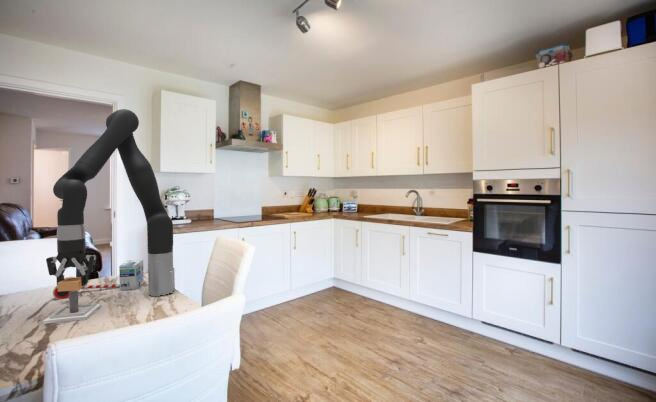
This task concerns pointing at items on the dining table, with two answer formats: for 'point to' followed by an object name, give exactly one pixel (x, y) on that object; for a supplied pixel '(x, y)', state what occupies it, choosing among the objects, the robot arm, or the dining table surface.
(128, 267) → the light bulb box
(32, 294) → the dining table surface
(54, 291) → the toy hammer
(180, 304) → the dining table surface
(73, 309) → the post base
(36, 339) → the dining table surface
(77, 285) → the ring
